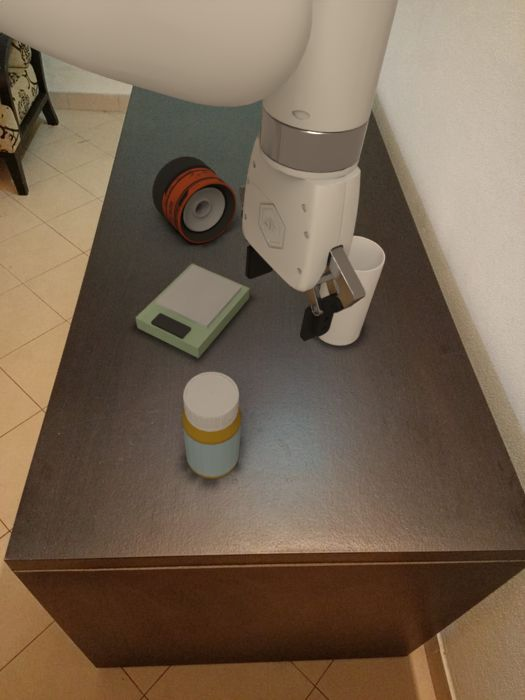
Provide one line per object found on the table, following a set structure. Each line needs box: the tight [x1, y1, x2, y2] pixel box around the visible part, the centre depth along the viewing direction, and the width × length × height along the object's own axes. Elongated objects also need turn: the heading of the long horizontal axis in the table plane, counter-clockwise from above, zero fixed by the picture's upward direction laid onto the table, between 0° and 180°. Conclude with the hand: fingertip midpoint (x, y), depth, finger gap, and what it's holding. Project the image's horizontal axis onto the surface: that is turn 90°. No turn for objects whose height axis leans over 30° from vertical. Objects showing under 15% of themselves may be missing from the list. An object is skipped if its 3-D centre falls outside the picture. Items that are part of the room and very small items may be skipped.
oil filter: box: [151, 155, 237, 244], centre depth 90 cm, size 13×12×13 cm
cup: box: [318, 235, 386, 346], centre depth 74 cm, size 8×8×16 cm
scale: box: [135, 263, 250, 359], centre depth 79 cm, size 16×12×3 cm
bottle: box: [181, 371, 242, 480], centre depth 57 cm, size 7×7×15 cm
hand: (285, 302), depth 47 cm, fingers open, 9 cm apart
